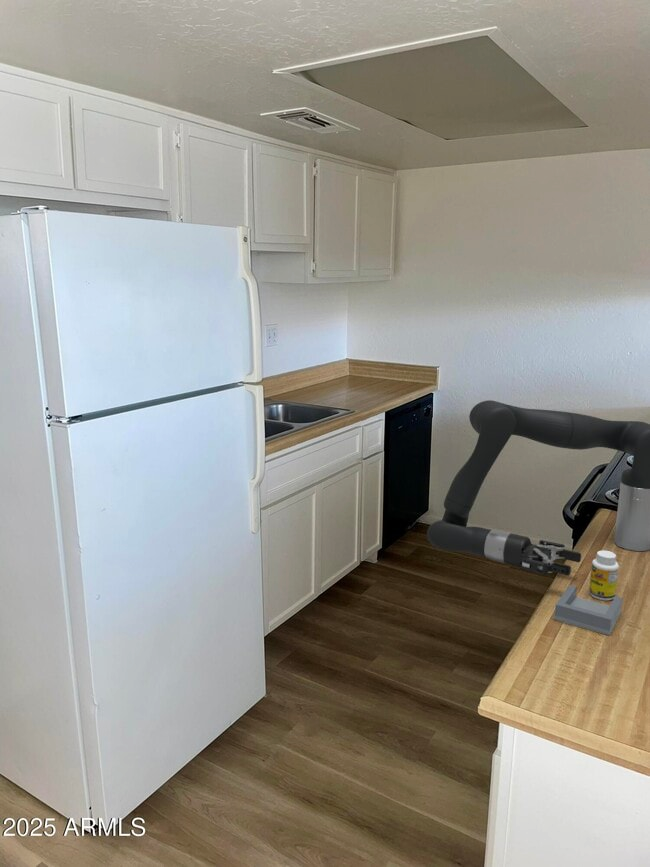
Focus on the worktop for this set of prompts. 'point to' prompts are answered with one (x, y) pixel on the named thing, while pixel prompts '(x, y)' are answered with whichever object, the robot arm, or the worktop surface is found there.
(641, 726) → the worktop surface
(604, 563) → the supplement bottle
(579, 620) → the u rest
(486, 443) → the robot arm
